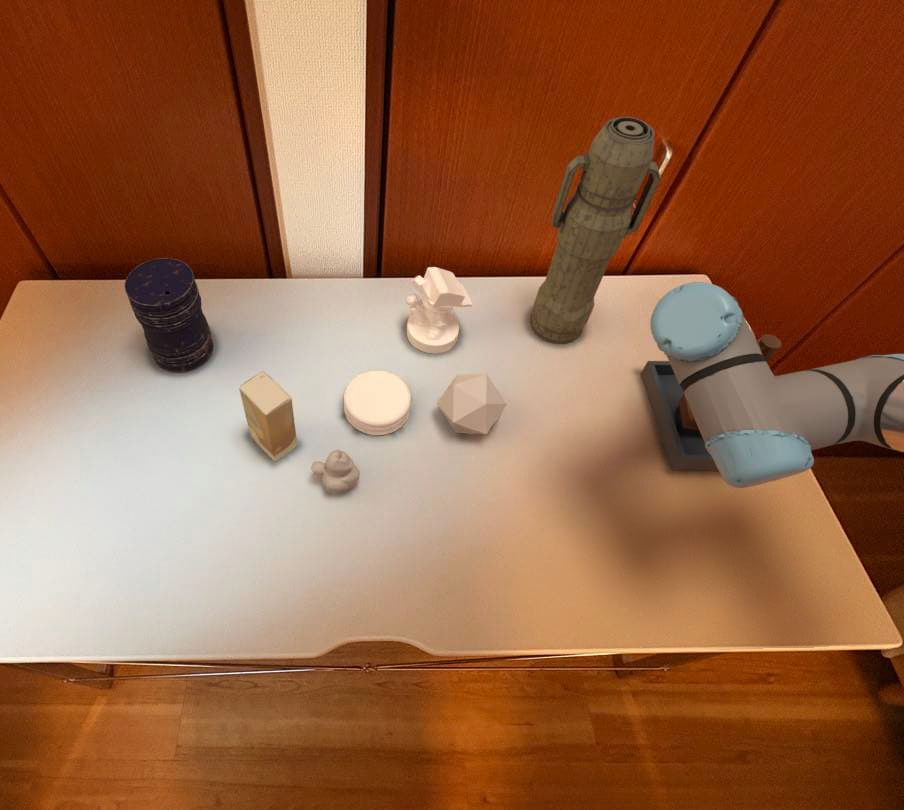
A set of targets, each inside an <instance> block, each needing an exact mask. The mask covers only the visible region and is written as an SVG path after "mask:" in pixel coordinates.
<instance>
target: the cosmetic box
mask: <svg viewBox="0 0 904 810" xmlns="http://www.w3.org/2000/svg"><path fill="white" fill-rule="evenodd" d="M238 390H239V392H240V393H239V395H240V398H241V403H242V407H243V410H244V415H245V420H246V423H247V428H248V431H249V436H250V437H251V438H252V440H253V441H254V442H255V443H256V444H257V445H258V446H259V448H260V449H261V450H262V451H263V452H264V453H265V454H266V455H267V456H268V457H269V458H271V460H272V461H273V462H276V461H278V460H280V459H282V457H284V456H286V455H287V454H288V453H290V452H291V451H292V450H294V449H295V448H297V447H298V440H297V439H298V438H297V433H296V432H297V431H296V423H295V415H294V407H293V398H292V396H290V394H289V393H288V392H287V391H286V390H284V388H283V387H282V386H281V385H280V384H279V383H277V381H276V380H274V378H272V377H271V376H270V374H268V373H267V372H266V371H265V370H262V371H260V372H258V373H257V374H255V375H253V376H252V377H251V378H249V379H247V380H246V381H245V382H243V383H242V384H240V385H239V386H238Z"/></svg>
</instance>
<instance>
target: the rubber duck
mask: <svg viewBox="0 0 904 810" xmlns="http://www.w3.org/2000/svg"><path fill="white" fill-rule="evenodd" d="M310 470H311V472H312V474H313V476H314V478H315V479H317V480H322V483H323V485H324V487H325V489H326V491H327V492H329V493H334V494H335V493H337V494H341V493H343V492H345V491H348V490H350V489H352V488H353V487H354V486H355V485H357V483H358V481H359V479H360V470H359V467H358V466H357V465H356V464H355V463H354V460H353V458H352V457H350V455H349V454H347V452H345V451H344V450H340V449H336V450H333V451H331V452H330V453H329V454H328V456H327V457H326V459H325V462H322V461H317V460H316V461H313V462H312V463H311V466H310Z"/></svg>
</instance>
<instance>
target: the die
mask: <svg viewBox="0 0 904 810" xmlns="http://www.w3.org/2000/svg"><path fill="white" fill-rule="evenodd" d="M436 405H437V407H438V408H439V410H440V411H441V413H442V414H443V416H444V418H445V419H446V420H447V423H449V425H450V427H452V429H453V430H454V433H456V434H470V435H471V434H475V435H487V434H488V433H489V431H490V430H491V428H492V427H493V425H494V424H495V423H496V421H497V419H498V418H499V416H500V415H501V414H502V412H503V410H504V409H505V407H506V406H507V405H508V403H507V402H506V401H505V399H504V398H503V396H502V395H501V393H500V391H499V390H498V388H497V387H496V386H495V384H494V382H493V381H492V379H491V378H490V376H489V375H488V373H478V374H477V373H475V374H474V373H473V374H472V373H471V374H456V375H454V378H453V379H452V380H451V382H450V384H449V385H448V386H447V387H446V389H445V391H444V392H443V394H442V395H441V396H440V398H439V399H438V401H437V402H436Z"/></svg>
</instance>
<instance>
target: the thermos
mask: <svg viewBox="0 0 904 810" xmlns="http://www.w3.org/2000/svg"><path fill="white" fill-rule="evenodd" d="M655 135H656V132H655V130H654V128H653V127H652V126H651V125H650V124H648V123H647V122H645V121H643V120H642V119H640V118H638V117H637V118H636V117H632V116H619V117H613V118H611V119H609V120H607V121H606V122H605V124H604V125H603V126H602V127H601V129H600V130H599V131H598V133H597V134H596V136H595V137H594V139H593V140H592V142H591V144H590V147H589V150H588V152H584V153H583V155H577V156H575V158H573V159H572V160H571V161H569V163H568V164H567V165H566V167H565V172H564V174H563V177H562V181H561V185H560V187H559V191H558V194H557V197H556V200H555V204H554V207H553V210H552V211H553V212H552V214H551V225H552V228H557V229H558V230H557V236H556V239H557V244H556V247H555V249H554V253H553V256H552V260H551V262H550V264H549V268H548V271H547V274H546V277H545V280H543V282H542V283H541V285H540V286H539V287H538V291H537V294H536V297H535V298H534V299H535V300H534V303H533V307H532V310H531V311H532V313H531V315H530V320H529V324H530V328H531V330H532V331H533V333H534V334H535V335H536V336H537V337H539V338H540V339H541V340H542V341H544V342H545V341H546V342H547V343H551V344H555V345H567V344H570V343H573V342H574V341H576V340H577V339H579V338H580V337H581V334H582V332H583V329H584V328H585V327H586V325H587V323H588V321H589V319H590V317H591V315H592V312H593V310H594V308H595V297H596V294H597V292H598V289H599V287H600V285H601V282H602V280H603V277H604V275H605V273H606V271H607V268H608V266H609V263H610V262H611V259H612V257H614V256H615V255H616V254H617V253H618V251H619V249H620V247H621V245H622V242H623V240H624V239H626V237H627V236H629V235H631V234H633V233H635V232H637V231H638V230H639V228H640V226H641V225H642V222H643V219H644V217H645V215H646V212H647V210H648V208H649V206H650V204H651V202H652V199H653V197H654V195H655V193H656V190H657V189H658V186H659V184H660V181H661V179H662V175H661V173H660V170H659V167H658V164H657V162H656V161H653V159H654V150H655ZM579 169H582V171H581V175H580V182H579V183H578V184H577V186H576V189H575V192H574V193H573V194H572V196H571V197H570V198H569V199H568V196H569V193H570V189H571V187H572V183H573V180H574V177H575V174H576V172H577V171H578V170H579ZM648 175H649V176H648ZM647 176H648V178H647V181H646V183H645V185H644V187H643V188H642V189H643V190H642V192H641V194H640V196H639V199H638V201H637V203H636V205H635V208H634V210H633V205H634V203H635V200H636V195H637V194H638V192H639V191H640V188H641V186H642V184H643V181H644V180H645V178H646V177H647ZM567 199H568V201H567ZM564 208H565V209H564Z"/></svg>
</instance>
